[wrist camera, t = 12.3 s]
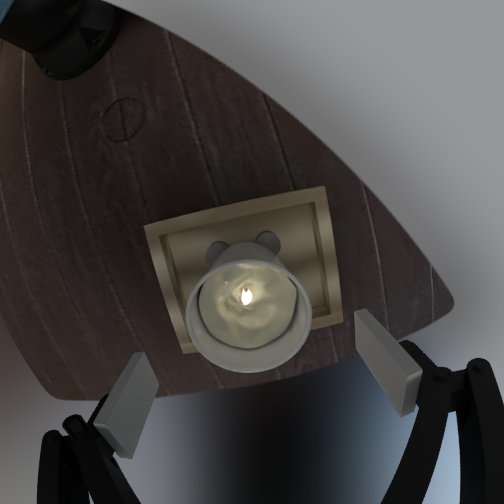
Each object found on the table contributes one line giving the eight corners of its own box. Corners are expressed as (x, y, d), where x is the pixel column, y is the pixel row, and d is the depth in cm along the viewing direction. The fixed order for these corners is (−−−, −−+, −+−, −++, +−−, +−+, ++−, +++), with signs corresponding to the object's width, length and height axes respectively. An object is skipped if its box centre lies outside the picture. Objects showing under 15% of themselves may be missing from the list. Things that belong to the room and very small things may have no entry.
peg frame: (154, 222, 34) (143, 225, 30) (315, 186, 34) (324, 186, 30) (188, 339, 38) (183, 353, 34) (334, 309, 37) (343, 321, 33)
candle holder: (261, 218, 31) (271, 233, 19) (303, 288, 33) (332, 336, 21) (189, 263, 32) (160, 302, 20) (234, 328, 34) (230, 389, 22)
